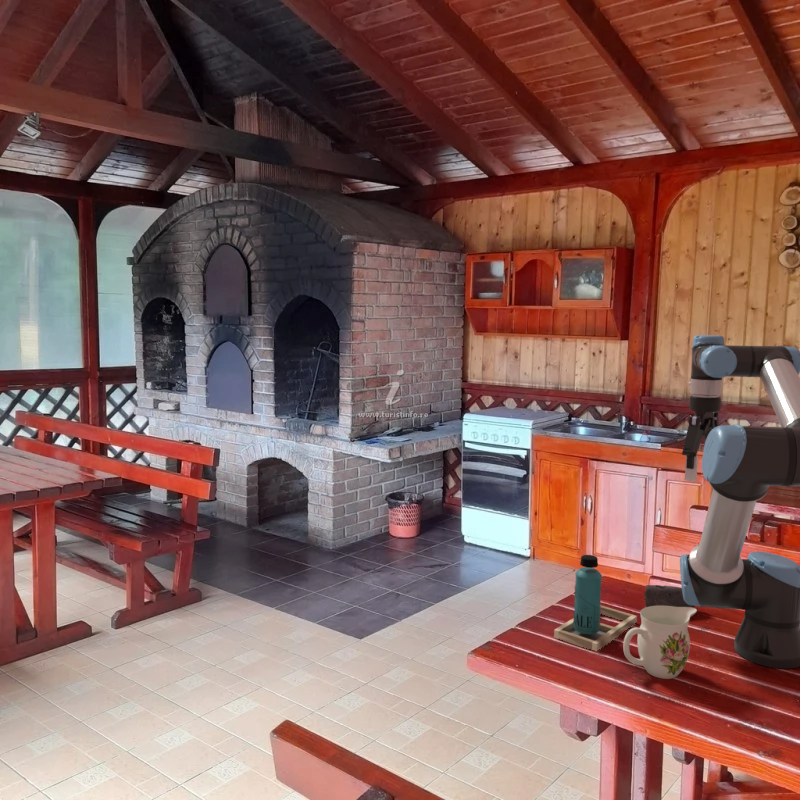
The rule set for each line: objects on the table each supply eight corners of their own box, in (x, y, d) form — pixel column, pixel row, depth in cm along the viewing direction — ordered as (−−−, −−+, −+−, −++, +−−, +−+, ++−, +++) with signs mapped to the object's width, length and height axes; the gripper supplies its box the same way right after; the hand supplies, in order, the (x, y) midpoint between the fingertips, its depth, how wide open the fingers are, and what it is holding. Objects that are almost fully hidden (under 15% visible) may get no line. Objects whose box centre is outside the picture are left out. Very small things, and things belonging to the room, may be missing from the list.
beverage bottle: (597, 629, 187) (600, 552, 184) (602, 641, 180) (605, 561, 178) (571, 628, 187) (573, 551, 185) (574, 640, 181) (577, 560, 178)
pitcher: (608, 666, 169) (611, 608, 168) (676, 655, 174) (680, 599, 173) (637, 690, 159) (640, 628, 157) (708, 678, 164) (712, 618, 162)
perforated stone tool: (694, 607, 203) (695, 582, 202) (701, 615, 197) (703, 590, 196) (638, 606, 203) (639, 582, 202) (644, 614, 198) (645, 589, 197)
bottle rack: (596, 611, 199) (596, 603, 199) (636, 623, 192) (637, 615, 192) (553, 637, 184) (554, 629, 183) (596, 652, 176) (596, 644, 176)
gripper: (708, 390, 204) (703, 466, 207) (671, 398, 185) (667, 482, 188) (737, 392, 199) (732, 470, 202) (701, 401, 180) (697, 487, 183)
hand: (700, 476), depth 195 cm, fingers open, 13 cm apart
